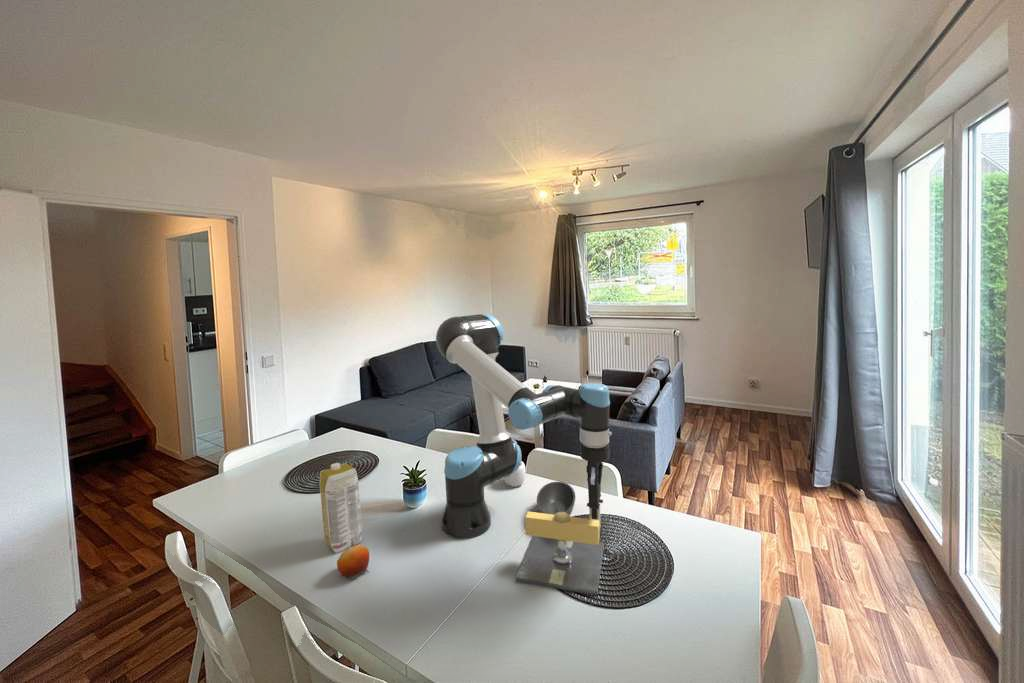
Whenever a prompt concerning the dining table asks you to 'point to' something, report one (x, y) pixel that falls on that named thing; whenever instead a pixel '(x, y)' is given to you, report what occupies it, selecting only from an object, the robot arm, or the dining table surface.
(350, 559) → the fruit
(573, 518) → the bar
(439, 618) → the dining table surface
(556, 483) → the bowl
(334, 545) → the juice carton
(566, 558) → the base
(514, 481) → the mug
